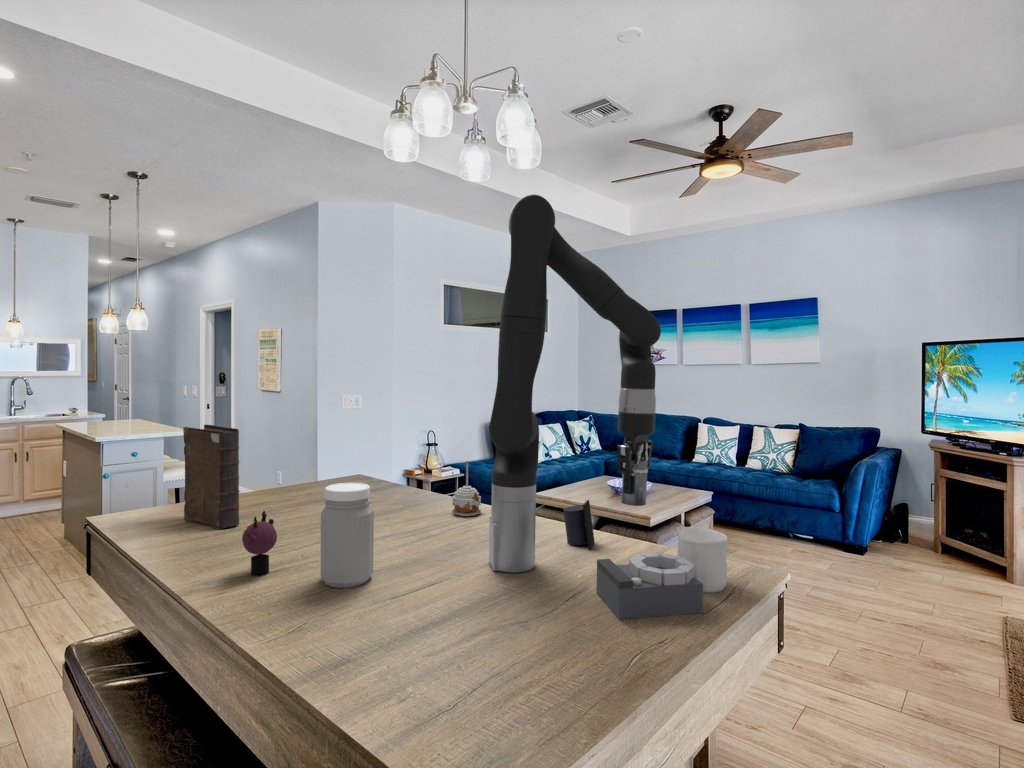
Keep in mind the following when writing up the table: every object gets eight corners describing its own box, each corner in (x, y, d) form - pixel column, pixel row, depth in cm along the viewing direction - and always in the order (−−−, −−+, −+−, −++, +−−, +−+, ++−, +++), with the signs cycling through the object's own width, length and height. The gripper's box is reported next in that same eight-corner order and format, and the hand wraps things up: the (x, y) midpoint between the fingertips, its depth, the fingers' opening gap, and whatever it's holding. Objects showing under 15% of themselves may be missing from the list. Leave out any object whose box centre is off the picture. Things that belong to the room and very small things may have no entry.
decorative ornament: (479, 518, 155) (480, 463, 155) (451, 517, 155) (451, 463, 155) (481, 511, 163) (482, 459, 163) (454, 510, 163) (455, 458, 163)
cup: (701, 597, 103) (703, 544, 102) (663, 579, 112) (664, 530, 111) (738, 588, 107) (740, 537, 107) (698, 571, 116) (700, 524, 116)
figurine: (273, 563, 117) (273, 505, 117) (289, 573, 111) (289, 513, 111) (232, 572, 111) (232, 512, 111) (246, 584, 106) (247, 520, 105)
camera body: (618, 619, 93) (619, 576, 93) (596, 592, 104) (597, 555, 104) (703, 612, 96) (704, 572, 96) (673, 588, 107) (674, 551, 107)
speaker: (602, 543, 133) (598, 499, 133) (590, 550, 129) (585, 505, 129) (575, 540, 138) (571, 497, 138) (562, 546, 133) (558, 503, 133)
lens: (626, 506, 115) (628, 461, 115) (616, 500, 120) (618, 457, 120) (650, 505, 116) (652, 461, 116) (640, 499, 121) (641, 457, 121)
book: (242, 526, 144) (242, 428, 143) (213, 532, 138) (213, 430, 137) (209, 515, 154) (209, 423, 153) (182, 521, 148) (182, 425, 147)
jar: (383, 574, 112) (383, 483, 111) (353, 592, 103) (354, 493, 102) (341, 568, 115) (341, 480, 114) (309, 585, 106) (309, 489, 105)
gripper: (641, 413, 110) (638, 500, 110) (666, 410, 122) (663, 488, 122) (605, 410, 114) (602, 494, 114) (632, 407, 126) (630, 483, 126)
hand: (634, 491), depth 118 cm, fingers closed on lens, 5 cm apart
